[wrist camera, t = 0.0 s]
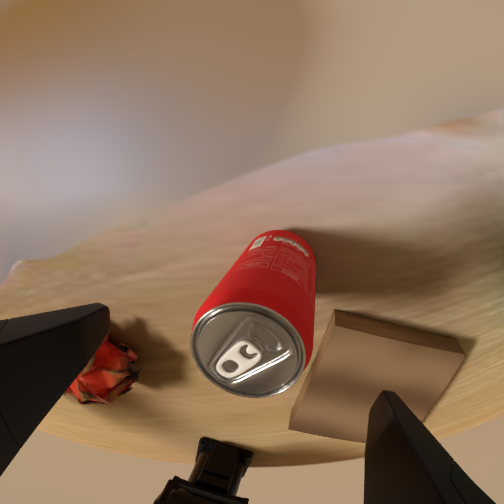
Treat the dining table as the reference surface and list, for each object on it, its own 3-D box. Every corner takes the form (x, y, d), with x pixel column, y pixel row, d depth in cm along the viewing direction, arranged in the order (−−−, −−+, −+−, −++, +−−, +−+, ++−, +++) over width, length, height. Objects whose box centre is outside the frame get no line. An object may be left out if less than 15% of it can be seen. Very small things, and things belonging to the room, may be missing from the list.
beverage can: (330, 261, 22) (339, 359, 11) (282, 305, 24) (251, 417, 13) (279, 211, 22) (238, 269, 11) (233, 260, 24) (162, 347, 12)
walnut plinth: (397, 429, 26) (400, 446, 23) (291, 410, 27) (288, 428, 25) (456, 339, 22) (465, 354, 19) (334, 309, 23) (335, 325, 21)
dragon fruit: (74, 328, 32) (160, 330, 32) (74, 395, 30) (162, 407, 29) (28, 315, 24) (122, 319, 24) (27, 397, 22) (124, 419, 21)
